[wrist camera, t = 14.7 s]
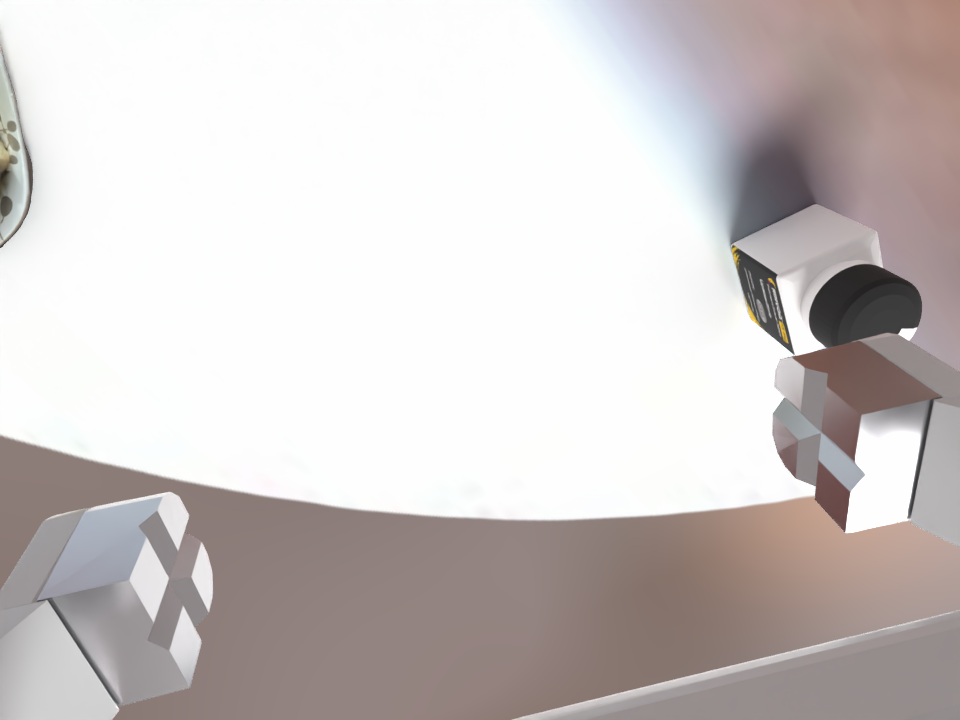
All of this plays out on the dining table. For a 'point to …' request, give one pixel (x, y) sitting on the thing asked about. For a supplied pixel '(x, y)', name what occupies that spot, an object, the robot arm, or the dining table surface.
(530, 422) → the dining table surface
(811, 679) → the robot arm
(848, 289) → the medicine bottle
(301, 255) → the dining table surface
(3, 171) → the salad plate
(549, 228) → the dining table surface
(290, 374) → the dining table surface
